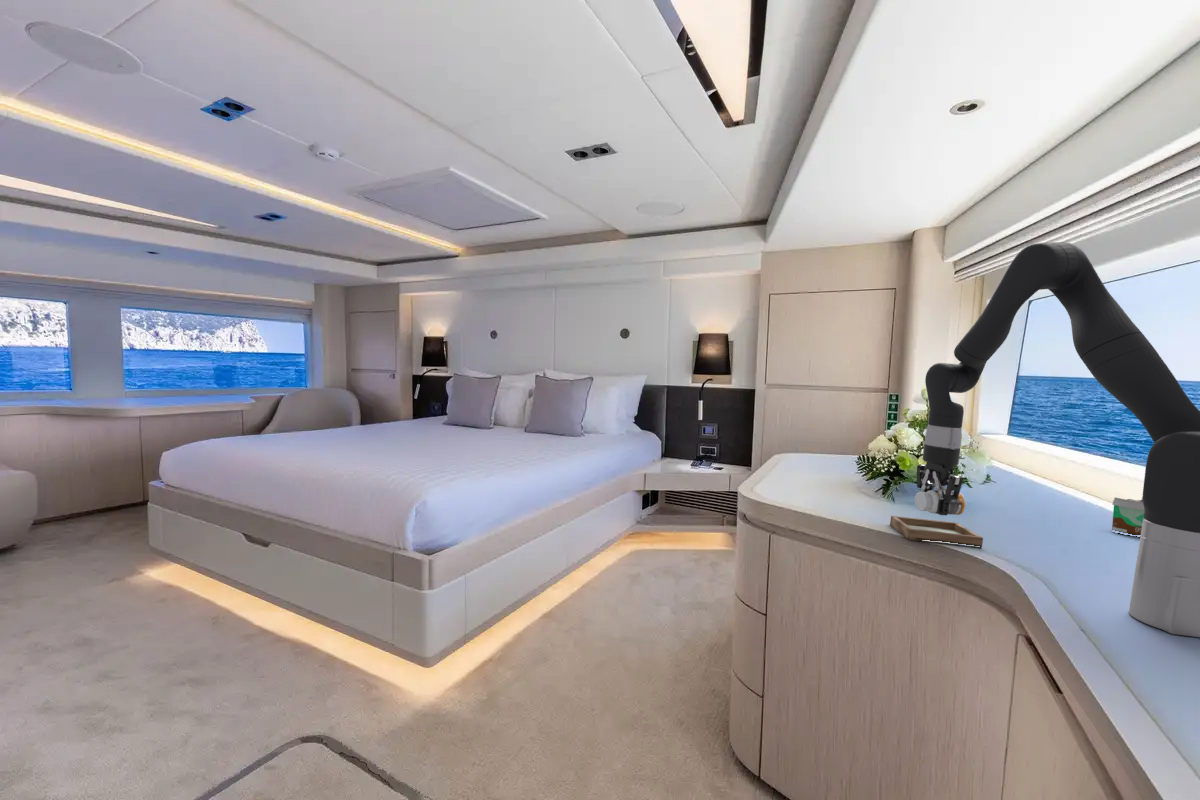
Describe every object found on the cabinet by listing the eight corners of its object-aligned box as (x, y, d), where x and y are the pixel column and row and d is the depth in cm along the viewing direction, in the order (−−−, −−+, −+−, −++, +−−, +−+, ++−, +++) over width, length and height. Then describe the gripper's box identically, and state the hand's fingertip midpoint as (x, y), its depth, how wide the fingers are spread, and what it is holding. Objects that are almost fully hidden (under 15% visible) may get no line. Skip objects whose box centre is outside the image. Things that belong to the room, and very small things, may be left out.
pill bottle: (970, 498, 127) (930, 495, 127) (963, 519, 129) (924, 517, 129) (954, 487, 133) (916, 485, 132) (949, 508, 134) (911, 505, 134)
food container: (1135, 540, 140) (1141, 503, 139) (1108, 532, 146) (1113, 497, 145) (1166, 538, 143) (1172, 503, 143) (1138, 531, 149) (1143, 497, 148)
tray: (981, 548, 124) (983, 537, 124) (909, 540, 127) (910, 529, 126) (955, 532, 136) (957, 522, 136) (890, 524, 138) (891, 515, 138)
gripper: (909, 438, 137) (902, 502, 138) (947, 448, 122) (938, 519, 124) (937, 440, 137) (930, 503, 138) (978, 450, 122) (969, 521, 124)
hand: (933, 510), depth 131 cm, fingers closed on pill bottle, 5 cm apart
